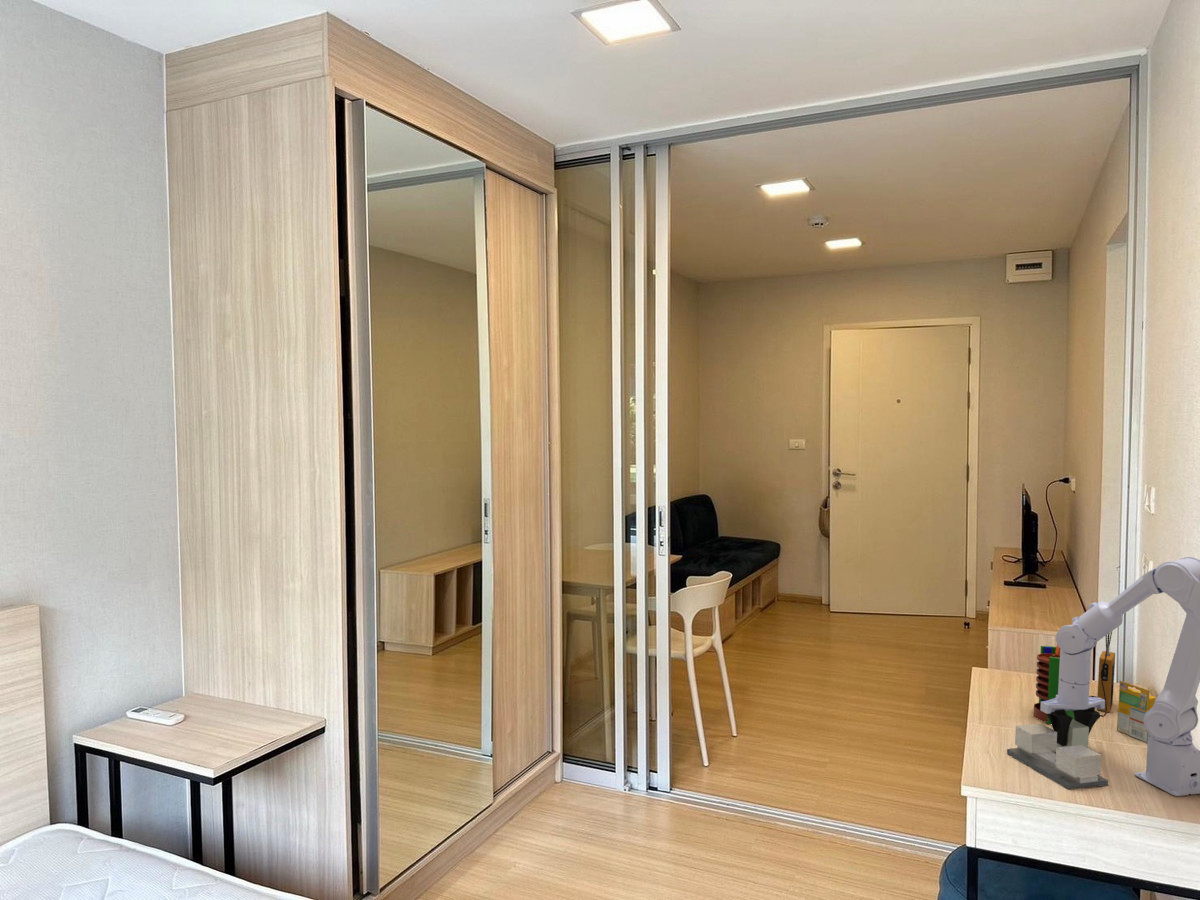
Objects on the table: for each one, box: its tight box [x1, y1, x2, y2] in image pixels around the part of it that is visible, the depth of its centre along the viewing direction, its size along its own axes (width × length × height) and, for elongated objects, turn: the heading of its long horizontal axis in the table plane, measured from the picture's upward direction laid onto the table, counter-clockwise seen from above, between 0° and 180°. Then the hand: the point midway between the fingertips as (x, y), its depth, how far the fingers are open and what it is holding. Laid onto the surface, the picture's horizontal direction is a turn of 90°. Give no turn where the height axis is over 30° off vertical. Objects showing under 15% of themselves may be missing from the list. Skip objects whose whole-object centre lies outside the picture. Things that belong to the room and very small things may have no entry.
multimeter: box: [1089, 631, 1116, 717], centre depth 211 cm, size 15×10×20 cm
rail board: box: [1006, 723, 1109, 790], centre depth 174 cm, size 17×9×6 cm, turn 14°
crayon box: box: [1116, 680, 1158, 743], centre depth 192 cm, size 7×3×12 cm, turn 20°
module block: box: [1056, 719, 1090, 749], centre depth 183 cm, size 5×4×6 cm
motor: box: [1033, 643, 1075, 725], centre depth 202 cm, size 10×9×20 cm
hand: (1070, 743), depth 183 cm, fingers open, 4 cm apart
